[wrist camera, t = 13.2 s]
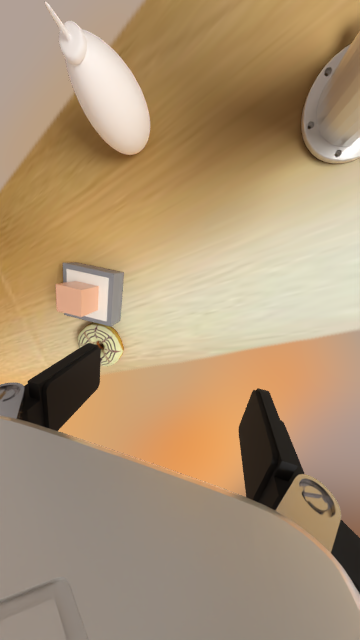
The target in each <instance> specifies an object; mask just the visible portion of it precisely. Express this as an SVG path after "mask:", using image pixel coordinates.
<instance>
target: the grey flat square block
mask: <svg viewBox="0 0 360 640" xmlns="http://www.w3.org/2000/svg"><path fill="white" fill-rule="evenodd" d="M123 278H124V272H119V271H114V270H110V269H105V268H100V267H96V266H91V265H86V264H82V263H63V283H65V282H72V281H78V282H83V283H87V284H92V285H96V286H99V297H98V310H97V311H95V312H92V313H90V314H88V315H85V316H83V317H79V316H75V315H71V314H67V313H64V315H67V316H71V317H75V318H79V319H83V320H87V321H91V322H95V323H99V324H103V325H106V326H110V327H111V326H113V325H114V324H116V323H118V322H119V321H120V317H121V304H122V291H123Z"/></svg>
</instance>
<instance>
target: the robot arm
mask: <svg viewBox="0 0 360 640" xmlns="http://www.w3.org/2000/svg"><path fill="white" fill-rule="evenodd" d="M308 128H309V129H310V130H309V129H308ZM301 131H302V135H303V140H304V142H305V144H306V147H307V148H308V149H309V151H310V152H311V153H312V154H313V155H314V156H315V157H316V158H318V159H320V160H322V161H324V162H328V163H334V164H335V163H346V162H350V161H354V160H356V159H358V158H360V31H359V32H358V34H357V36H356V37H355V39H354V40H353V42H352V44H350V45H348V46H347V47H345V48H344V49H342V50H341V51H340V52H339V53H337V54H336V55H335V56H334V57H333V58H332V59H331V60H330V61H329V62H328V63H327V64H326V65H325V67H324V68H323V69H322V71H321V72H320V74H319V75H318V76H317V78H316V80H315V82H314V83H313V85H312V87H311V89H310V91H309V93H308V96H307V98H306V101H305V104H304V107H303V112H302V118H301ZM335 155H336V157H335ZM100 359H101V349H100V348H99V346H98V345H96V344H92V343H87V344H85V345H84V346H82V347H81V348H79V349H78V350H76V351H74V352H73V353H71V354H70V355H68V356H66V357H65V358H63V359H62V360H60V361H59V362H57V363H55V364H54V365H52V366H51V367H49V368H48V369H46V370H44V371H43V372H41V373H40V374H38V375H36V376H35V377H33V378H32V379H30V380H29V381H28V384H27V385H25V386H23V385H22V384H20V383H5V384H1V385H0V640H360V538H359V537H358V536H357V535H356V534H355V533H354V532H353V531H352V530H351V529H350V528H349V527H348V526H347V525H346V524H345V523H344V522H343V521H342V520H341V511H340V508H339V505H338V503H337V501H336V499H335V498H334V496H333V495H332V494H331V492H330V491H329V490H328V489H327V488H326V487H325V486H324V485H323V484H322V483H321V482H319V481H318V480H317V479H315V478H313V477H311V476H309V475H305V474H304V472H303V469H302V467H301V464H300V462H299V459H298V457H297V454H296V452H295V449H294V447H293V445H292V442H291V439H290V437H289V435H288V432H287V430H286V427H285V425H284V423H283V422H282V421H281V420H280V418H279V416H278V413H277V411H276V408H275V406H274V403H273V400H272V398H271V395H270V393H269V391H266V390H261V389H257V390H253V392H252V394H251V397H250V399H249V402H248V404H247V407H246V410H245V412H244V415H243V417H242V420H241V423H240V426H239V438H240V447H241V456H242V464H243V472H244V480H245V489H246V497H244V496H241V495H239V494H236V493H233V492H230V491H228V490H225V489H222V488H220V487H217V486H215V485H212V484H209V483H206V482H203V481H201V480H197V479H195V478H192V477H189V476H186V475H183V474H181V473H178V472H175V471H172V470H169V469H166V468H163V467H161V466H158V465H155V464H152V463H149V462H146V461H143V460H141V459H137V458H134V457H132V456H129V455H126V454H123V453H120V452H117V451H114V450H111V449H108V448H106V447H103V446H100V445H97V444H93V443H91V442H88V441H85V440H82V439H79V438H76V437H73V436H70V435H67V434H64V433H61V432H58V430H59V429H60V428H61V427H62V426H63V424H64V423H65V422H66V421H67V420H68V419H69V418H70V417H71V416H72V415H73V414H74V413H75V412H76V411H77V410H78V409H79V408H80V407H81V405H82V404H83V403H84V402H85V401H86V400H87V399H88V398H89V397H90V396H91V395H92V394H93V393H94V392H95V391H96V390H97V388H98V386H99V383H100Z"/></svg>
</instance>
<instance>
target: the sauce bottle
mask: <svg viewBox="0 0 360 640" xmlns="http://www.w3.org/2000/svg"><path fill="white" fill-rule="evenodd" d="M45 5H46V7H47V9H48V11H49V12H50V14H51V16H52V17H53V19H54V20H55V22H56V24H57V25H58V27H59V28H60V33H59V45H60V48H61V51H62V53H63V55H64V56H65V61H66V67H67V71H68V74H69V78H70V81H71V84H72V87H73V89H74V92H75V94H76V96H77V99H78V101H79V103H80V105H81V107H82V109H83V111H84V113H85V115H86V116H87V118H88V120H89V121H90V123H91V124H92V126H93V127H94V129H95V130H96V131H97V133H98V134H99V135H100V136H101V137H102V139H103V140H104V141H105V142H106V143H107V144H109V145H110V146H111V147H112V148H113V149H115V150H117V151H118V152H120V153H123V154H127V155H134V154H136V153H139V152H140V151H141V150H142V149H143V148H144V147H145V145H146V144H147V141H148V139H149V134H150V116H149V111H148V107H147V104H146V101H145V98H144V95H143V93H142V90H141V88H140V86H139V84H138V83H137V81H136V79H135V77H134V75H133V74H132V72H131V71H130V69H129V68H128V66H127V65H126V64H125V62H124V61H123V60H122V59H121V57H120V56H119V55H118V54H117V53H116V52H115V51H114V50H113V49H112V48H111V47H110V46H109V45H108V44H107V43H105V42H104V41H103V40H102V39H101V38H99V37H98V36H96V35H94V34H93V33H91V32H89V31H86V30H83V29H81V28H80V27H79V26H78V25H77V24H76V23H75V22H73V21H67V22H65V23H64V24H63V23H62V22H61V20H60V19H59V18H58V16H57V15H56V13H55V12H54V11H53V9H52V8H51V7H50V5H49V4H48V3H47V2H46V1H45Z"/></svg>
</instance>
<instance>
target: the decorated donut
mask: <svg viewBox="0 0 360 640" xmlns="http://www.w3.org/2000/svg"><path fill="white" fill-rule="evenodd" d="M99 341H101V342H102V343H103V344H104V348H103V347H101V346H100V344H99ZM87 343H92V344H96V345H98V346H99V348H100V349H101V359H100V365H101V366H110V365H113V364H114V363H116V362H117V361H118V360H119V358H120V357H121V356H122V354H123V350H124V347H123V344H122V341H121V338H120V336H119V335H118V333H117V331H116V330H114V328H112V327H110V326H106V325H103V324H99V323H92V324H90V325H88V326H86V327H85V328H84V329H83V330H82V331H81V332H80V334H79V336H78V345H79V348H81V347H82V346H84V345H85V344H87Z"/></svg>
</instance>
